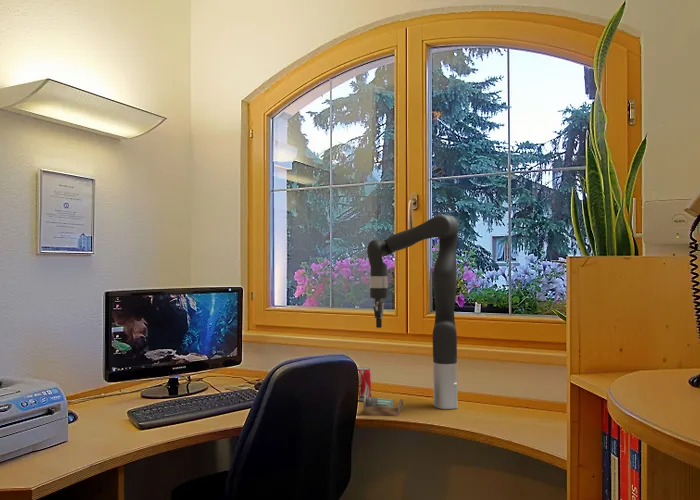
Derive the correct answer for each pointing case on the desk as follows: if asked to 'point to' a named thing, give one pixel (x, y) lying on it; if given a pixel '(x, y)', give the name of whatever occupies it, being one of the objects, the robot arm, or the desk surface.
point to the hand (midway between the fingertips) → (379, 327)
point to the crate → (385, 402)
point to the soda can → (364, 382)
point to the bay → (380, 407)
